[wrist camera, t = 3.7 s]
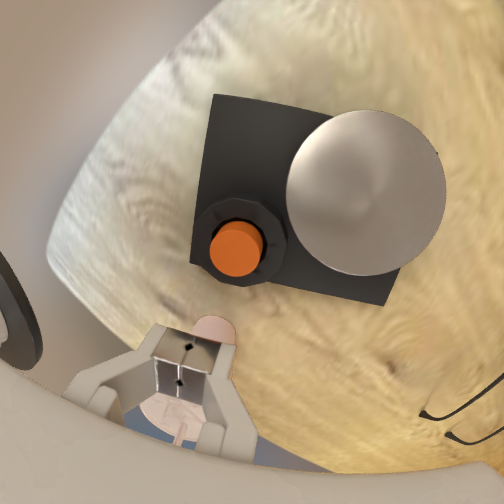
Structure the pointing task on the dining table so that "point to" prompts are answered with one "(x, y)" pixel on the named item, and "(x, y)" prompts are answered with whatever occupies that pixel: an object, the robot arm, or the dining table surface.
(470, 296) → the dining table surface
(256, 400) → the dining table surface
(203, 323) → the smoothie
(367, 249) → the scale pan
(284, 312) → the dining table surface
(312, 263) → the scale
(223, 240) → the tare button
